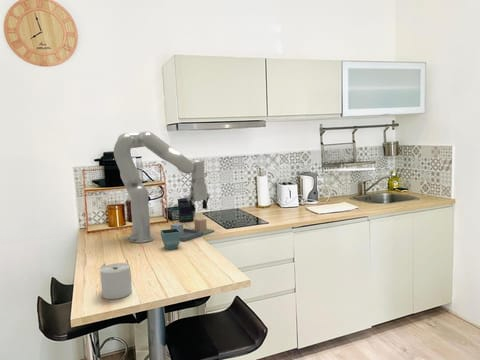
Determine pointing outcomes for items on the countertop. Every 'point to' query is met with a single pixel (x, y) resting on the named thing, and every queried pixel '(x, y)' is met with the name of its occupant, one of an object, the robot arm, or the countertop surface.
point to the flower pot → (170, 238)
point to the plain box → (179, 227)
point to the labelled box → (200, 224)
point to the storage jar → (184, 211)
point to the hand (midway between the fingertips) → (198, 209)
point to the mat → (206, 231)
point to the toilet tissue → (116, 280)
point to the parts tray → (190, 234)
